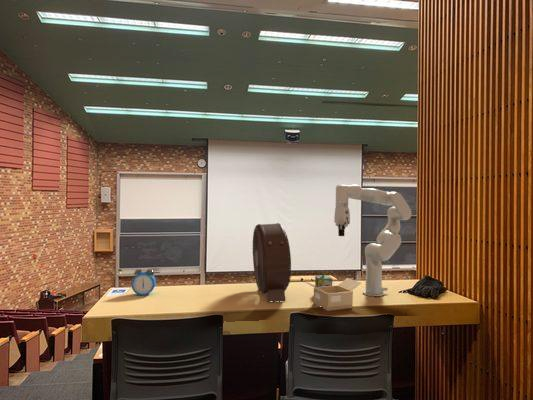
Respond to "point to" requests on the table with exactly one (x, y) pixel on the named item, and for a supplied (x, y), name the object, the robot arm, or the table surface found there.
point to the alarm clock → (143, 282)
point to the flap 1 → (316, 287)
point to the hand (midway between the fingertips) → (341, 235)
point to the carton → (333, 298)
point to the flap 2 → (350, 284)
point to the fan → (271, 260)
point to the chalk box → (323, 281)
